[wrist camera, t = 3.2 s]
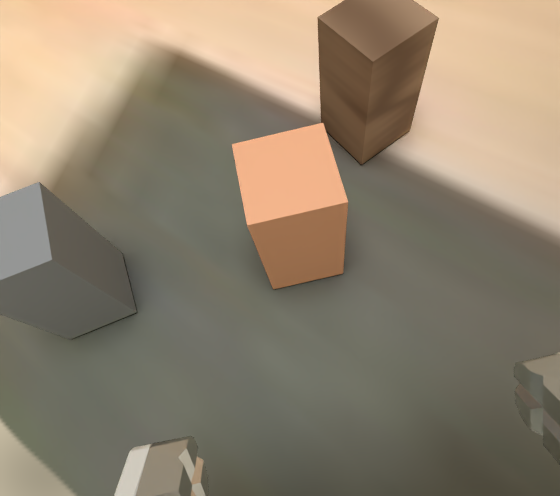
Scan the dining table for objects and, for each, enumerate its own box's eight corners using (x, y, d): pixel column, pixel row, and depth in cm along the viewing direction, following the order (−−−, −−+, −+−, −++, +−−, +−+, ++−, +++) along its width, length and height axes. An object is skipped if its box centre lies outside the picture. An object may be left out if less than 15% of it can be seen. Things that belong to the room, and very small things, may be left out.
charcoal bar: (122, 253, 29) (39, 182, 21) (136, 312, 27) (52, 259, 19) (59, 278, 29) (-50, 216, 20) (70, 339, 27) (-46, 298, 19)
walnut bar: (367, 94, 32) (380, -23, 24) (409, 130, 30) (438, 18, 22) (321, 126, 31) (317, 17, 23) (361, 164, 30) (372, 61, 21)
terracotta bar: (325, 212, 28) (323, 122, 20) (343, 273, 27) (347, 201, 18) (260, 227, 28) (231, 144, 20) (273, 289, 27) (247, 225, 18)
